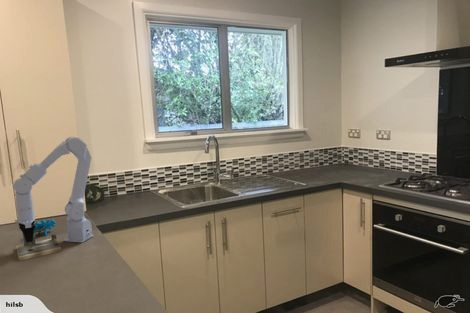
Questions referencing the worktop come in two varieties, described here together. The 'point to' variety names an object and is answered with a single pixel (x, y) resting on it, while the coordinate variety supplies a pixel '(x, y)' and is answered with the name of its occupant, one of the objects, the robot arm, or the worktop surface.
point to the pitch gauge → (38, 248)
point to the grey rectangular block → (28, 242)
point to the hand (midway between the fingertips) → (29, 240)
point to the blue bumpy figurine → (44, 226)
